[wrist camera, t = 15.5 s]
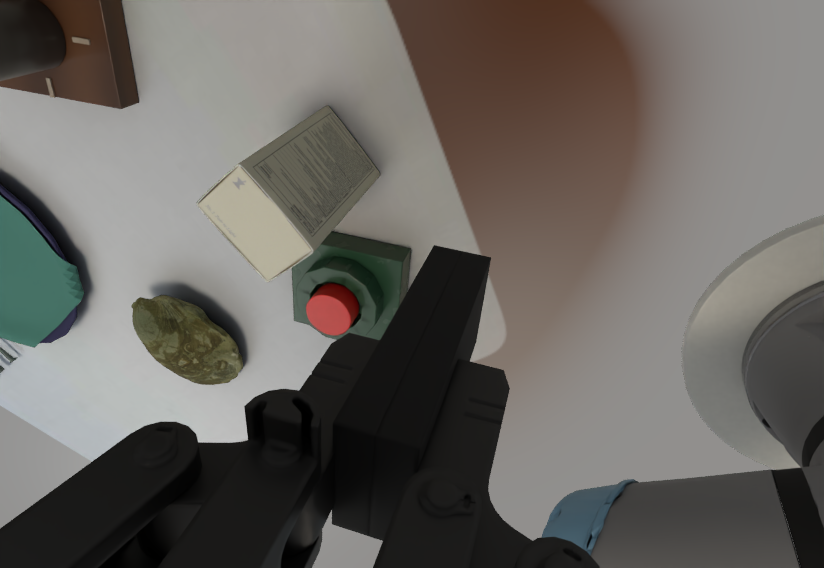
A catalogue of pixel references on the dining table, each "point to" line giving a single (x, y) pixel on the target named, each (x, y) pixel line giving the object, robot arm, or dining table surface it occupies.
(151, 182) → the dining table surface
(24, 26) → the dial
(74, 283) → the cutlery set
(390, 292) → the button box
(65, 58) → the panel
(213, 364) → the seashell
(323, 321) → the button
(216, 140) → the dining table surface
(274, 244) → the cosmetic box
